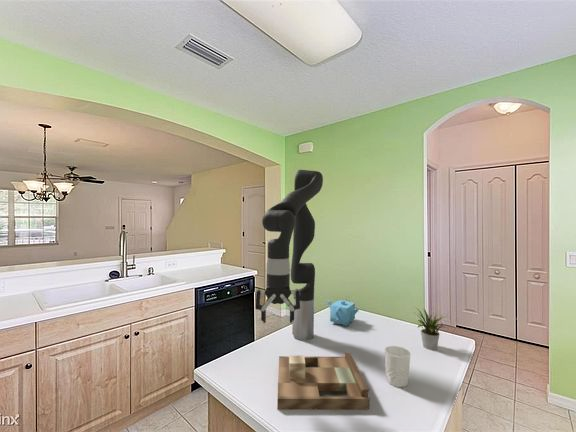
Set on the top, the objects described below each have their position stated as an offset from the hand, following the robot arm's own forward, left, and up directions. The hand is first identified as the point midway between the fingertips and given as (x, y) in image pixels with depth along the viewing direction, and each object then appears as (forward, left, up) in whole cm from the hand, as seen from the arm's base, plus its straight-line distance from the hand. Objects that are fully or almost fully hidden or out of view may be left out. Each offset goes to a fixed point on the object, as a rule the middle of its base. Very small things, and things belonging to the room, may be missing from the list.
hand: (277, 322), depth 91 cm
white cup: (+20, +34, -21) cm, 45 cm away
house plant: (+11, +67, -20) cm, 71 cm away
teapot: (-28, +56, -21) cm, 66 cm away
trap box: (+7, +11, -20) cm, 24 cm away
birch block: (+3, +6, -17) cm, 18 cm away
